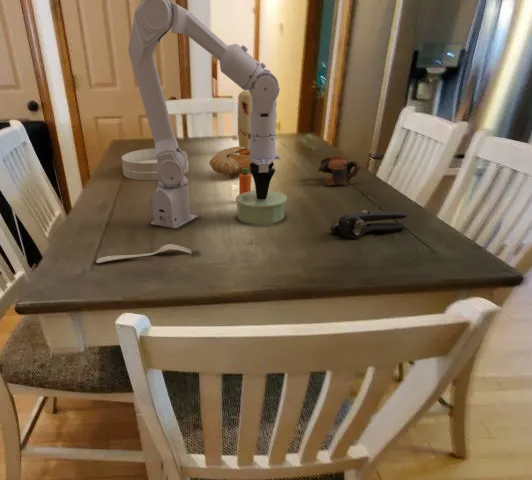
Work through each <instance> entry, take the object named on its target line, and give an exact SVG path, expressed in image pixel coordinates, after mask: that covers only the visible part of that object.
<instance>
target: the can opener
mask: <svg viewBox="0 0 532 480" xmlns="http://www.w3.org/2000/svg"><path fill="white" fill-rule="evenodd" d="M407 217H408V215H407V214H406V213H405V212H402V211H385V210H383V211H382V210H380V211H379V210H378V211H377V210H375V211H368V210H365V209H364V210H361V211H360V212H355V213H347V214H343V215H342V216H341V217H340V218H339V219H338V222H337V223H335V224H333V225H331V226H330V228H329V230H330V231H331V232H332V233H334V234H336V235H338V236H343V237H344V238H347V239H351V240H357V239H359V238H361V237H362V236H363V235H364V234H366V233H369V232H396V231H400V230H403V229H404V228H406V226H405V224H404V223H402V222H379V221H389V220H403V219H406V218H407ZM366 222H371V223H367V224H365V223H366ZM373 222H374V223H373ZM375 222H376V223H375Z"/></svg>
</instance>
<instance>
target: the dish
mask: <svg viewBox="0 0 532 480" xmlns="http://www.w3.org/2000/svg"><path fill="white" fill-rule="evenodd" d="M180 151H181V152H182V153H183V155H184V156H185V158H186V163H187V164H186V169H185V171H184V175H186V174H187V173H188V172H189V170H190V169H189V168H190V167H189V160H188V153H187V151H185V150H183V149H180ZM121 162H122V167H121V168H122V174H123V176H124V177H125V178H128V179H130V180H136V181H159V178H158V176H157V166H158V162H157V158H156V152H155V147H154V148H144V149H138V150H134V151H129V152H127V153H125V154H123V155H122V156H121Z"/></svg>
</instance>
